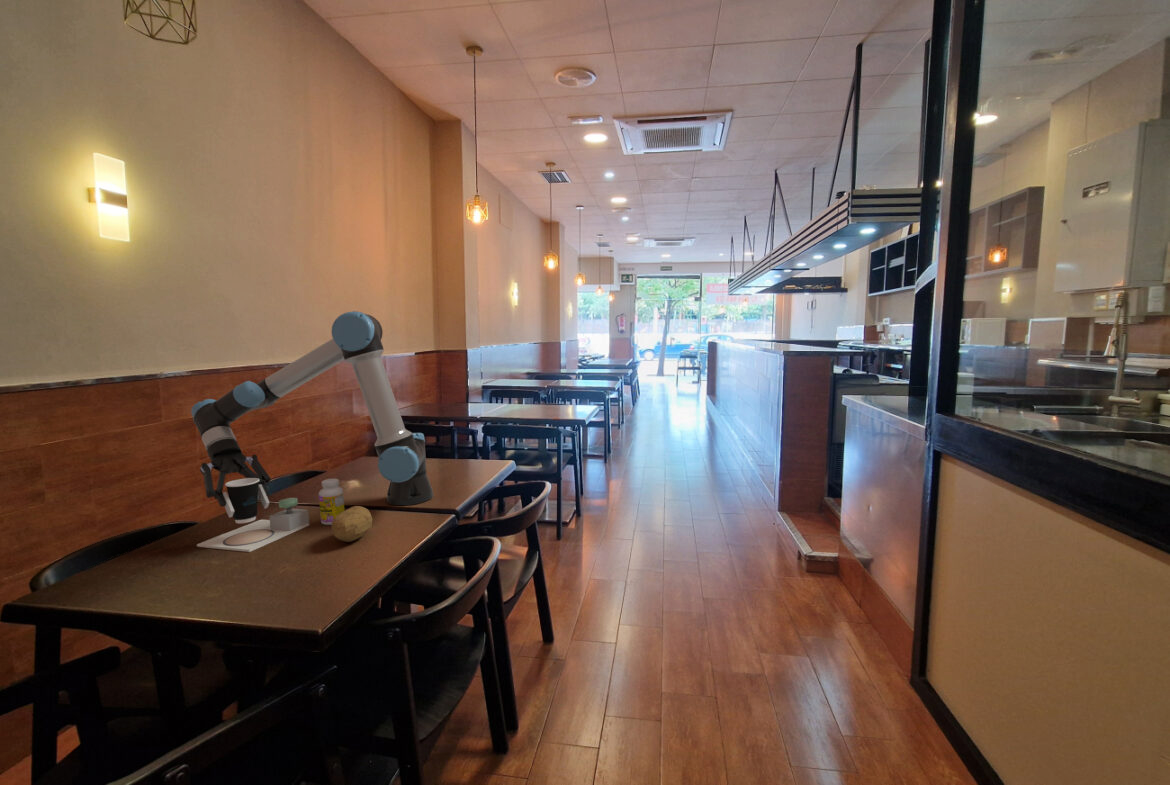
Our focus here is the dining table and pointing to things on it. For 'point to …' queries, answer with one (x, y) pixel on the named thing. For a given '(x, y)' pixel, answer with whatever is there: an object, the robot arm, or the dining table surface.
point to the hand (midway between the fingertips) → (249, 509)
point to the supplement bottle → (330, 501)
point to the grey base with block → (260, 532)
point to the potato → (351, 523)
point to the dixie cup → (243, 498)
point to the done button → (288, 504)
